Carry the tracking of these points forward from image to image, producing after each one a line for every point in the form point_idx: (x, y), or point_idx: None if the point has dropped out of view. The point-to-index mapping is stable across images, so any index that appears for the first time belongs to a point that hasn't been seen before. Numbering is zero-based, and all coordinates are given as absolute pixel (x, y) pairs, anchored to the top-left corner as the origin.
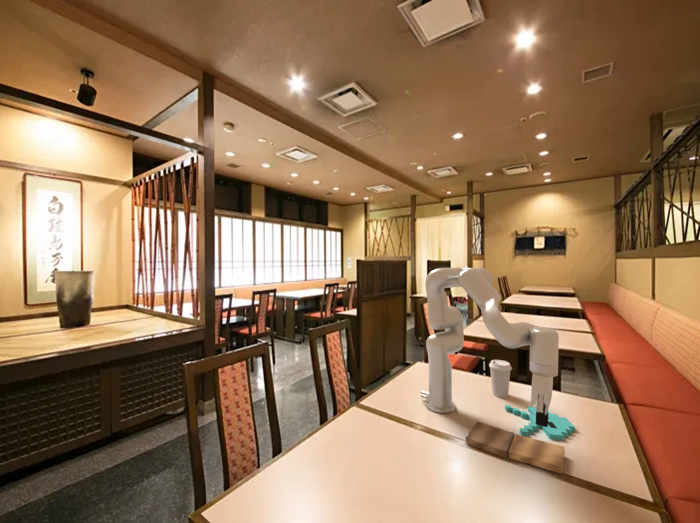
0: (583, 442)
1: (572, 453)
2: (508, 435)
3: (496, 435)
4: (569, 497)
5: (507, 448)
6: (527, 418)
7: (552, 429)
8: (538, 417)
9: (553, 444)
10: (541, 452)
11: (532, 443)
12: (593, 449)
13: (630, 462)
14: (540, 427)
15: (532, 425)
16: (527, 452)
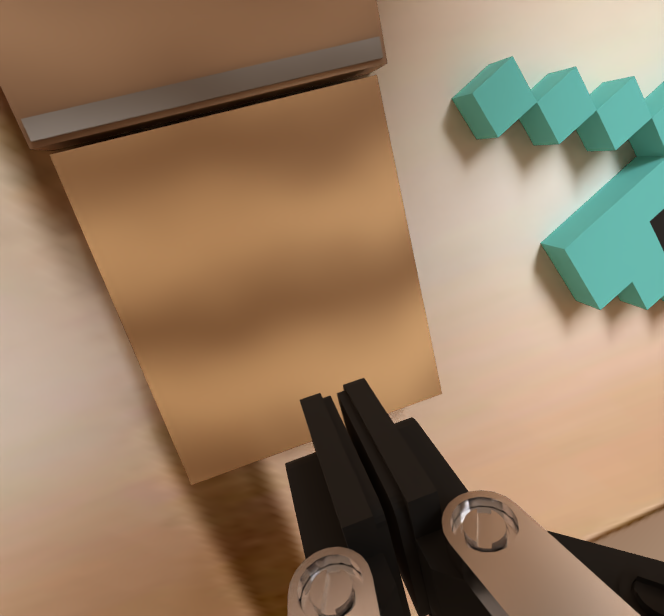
0: (617, 366)
1: (473, 379)
2: (305, 37)
3: None
4: (53, 531)
5: (78, 130)
6: None
7: (634, 236)
8: (326, 487)
9: (422, 342)
10: (260, 335)
11: (332, 241)
12: (580, 417)
13: (570, 527)
14: (639, 150)
15: (610, 116)
16: (175, 270)
